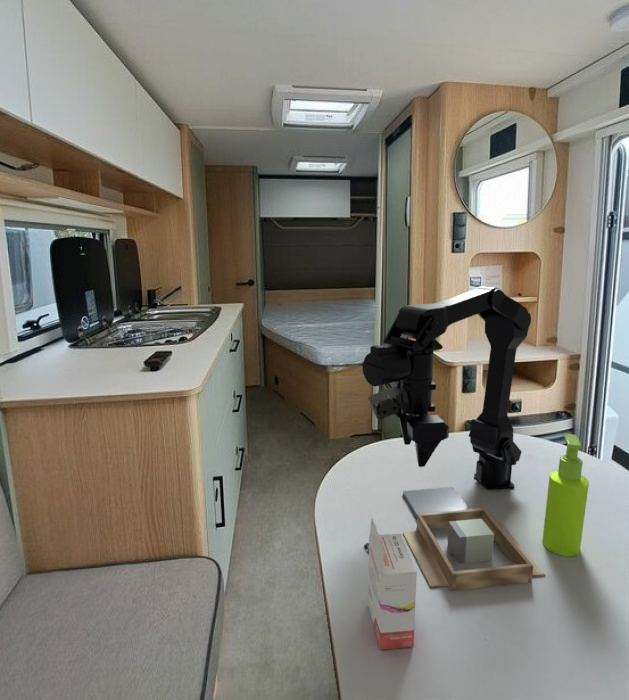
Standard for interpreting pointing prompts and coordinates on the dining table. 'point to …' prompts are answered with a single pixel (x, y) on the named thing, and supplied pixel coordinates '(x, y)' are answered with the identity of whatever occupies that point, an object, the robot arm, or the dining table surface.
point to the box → (470, 540)
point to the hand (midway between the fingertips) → (414, 454)
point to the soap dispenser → (566, 503)
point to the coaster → (434, 500)
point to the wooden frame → (444, 574)
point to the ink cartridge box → (391, 590)
